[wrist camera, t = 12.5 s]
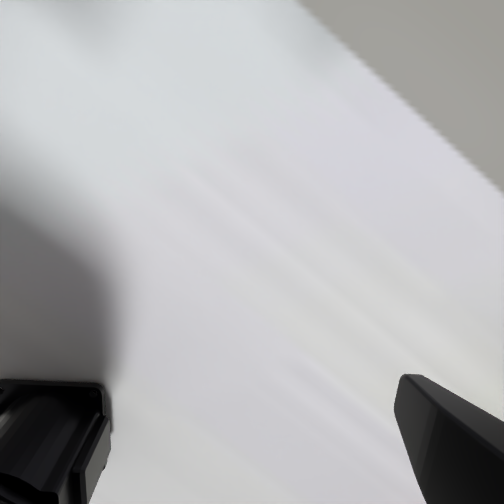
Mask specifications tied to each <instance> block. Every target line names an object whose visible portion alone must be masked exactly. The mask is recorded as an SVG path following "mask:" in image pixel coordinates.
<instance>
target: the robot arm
mask: <svg viewBox="0 0 504 504" xmlns="http://www.w3.org/2000/svg"><path fill="white" fill-rule="evenodd" d="M0 387H2V388H3V389H4V390H3V389H1V388H0V504H89V501H90V499H91V497H92V494H93V492H94V489H95V487H96V484H97V482H98V480H99V477H100V475H101V472H102V471H103V470H104V469H105V467H106V464H107V458H108V455H109V453H110V450H111V440H110V419H109V418H108V416H107V415H105V397H104V388H103V386H102V385H100V384H98V383H82V382H57V381H33V380H8V379H1V380H0ZM92 391H96V392H97V393H93V392H92ZM394 413H395V418H396V421H397V423H398V426H399V429H400V432H401V435H402V438H403V441H404V444H405V447H406V450H407V453H408V456H409V459H410V462H411V465H412V468H413V471H414V474H415V477H416V479H417V482H418V485H419V487H420V489H421V492H422V494H423V497H424V499H425V501H426V503H427V504H504V422H503V421H501V420H500V419H498V418H496V417H494V416H493V415H491V414H489V413H487V412H486V411H484V410H482V409H480V408H479V407H477V406H475V405H473V404H472V403H470V402H468V401H466V400H465V399H463V398H461V397H459V396H458V395H456V394H454V393H452V392H451V391H449V390H447V389H445V388H444V387H442V386H440V385H438V384H437V383H435V382H433V381H431V380H430V379H428V378H426V377H424V376H423V375H419V374H404V375H402V376H401V378H400V380H399V385H398V389H397V394H396V398H395V403H394Z"/></svg>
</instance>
